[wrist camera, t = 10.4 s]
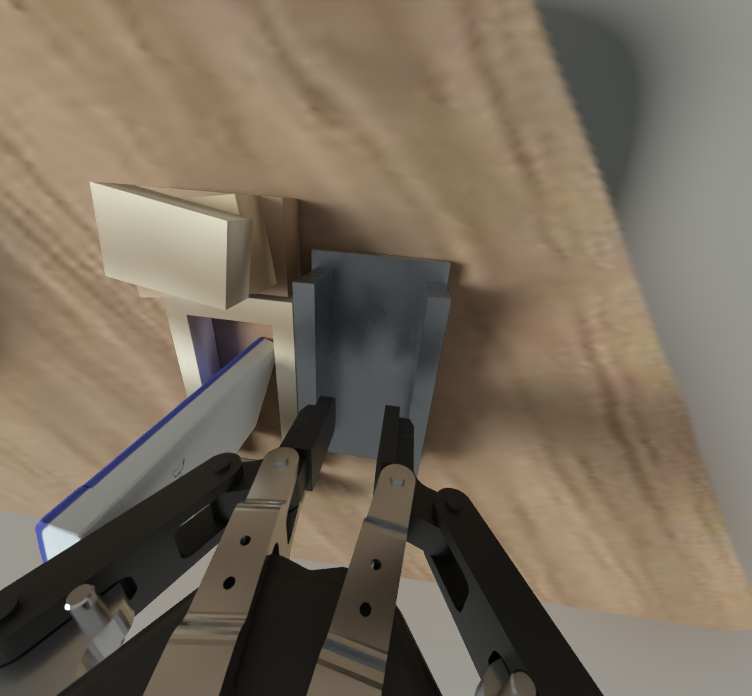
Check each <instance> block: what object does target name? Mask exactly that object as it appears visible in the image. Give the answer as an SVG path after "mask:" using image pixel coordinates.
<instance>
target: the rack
mask: <svg viewBox="0 0 752 696" xmlns="http://www.w3.org/2000/svg"><path fill="white" fill-rule="evenodd" d="M163 301H164V305H165V309H166V313H167V317H168V321H169V325H170V329H171V333H172V337H173V341H174V345H175V349H176V353H177V357H178V361H179V365H180V369H181V373H182V377H183V381H184V385H185V389H186V393H187V397H189V396H190V395H191V394H193V393H194V392H195V391H196V390H197V389H199V388H200V387H201V386H202V385H203V384H204V383H205V382H207V381H208V380H209V379H210V378H212V377H213V376H214V375H215V374H216V373H218V372H219V371H220V370H221V369H220V363H219V357H218V352H217V346H216V341H215V335H214V330H213V324H212V319H211V318H217V319H226V320H234V321H242V322H251V323H259V324H267V325H272V330H273V342H274V354H275V366H276V378H277V389H278V401H279V413H280V425H281V437H282V441H283V440H284V438H285V436H286V434H287V433H288V431H289V429H290V427H291V426H292V425H293V422H294V420H295V419H296V417H297V415H298V413H299V410H298V389H297V369H296V348H295V327H294V307H293V294H292V295H290V296H289V297H284V296H275V295H266V294H249V297H248V299H246V300H244V301H242V302H240V303H238V304H236V305H235V306H233V307H231V308H229V309H227V310H222V309H219V308H215V307H212V306H208V305H205V304H202V303H198V302H195V301H191V300H188V299H184V298H181V297H177V296H174V297H163ZM241 461H242V462H247V461H256V460H251V459H244V458H241ZM306 492H307V490H305V492H304V495H303V497H302V500H301V505H302V502H303V500H304V497H305V494H306ZM208 505H209V504H208ZM208 505H207V506H208ZM207 506H206V507H207ZM204 508H205V507H204ZM204 508H203V509H204ZM203 509H202V510H203ZM200 511H201V510H200ZM200 511H199V512H200ZM199 512H198V513H199ZM196 514H197V513H196ZM196 514H195V515H196ZM195 515H194V516H195ZM192 517H193V516H192ZM192 517H191V518H192ZM191 518H190V519H191ZM188 520H189V519H188ZM188 520H187V521H188ZM187 521H186V522H187Z"/></svg>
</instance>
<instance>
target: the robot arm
mask: <svg viewBox="0 0 752 696" xmlns="http://www.w3.org/2000/svg"><path fill="white" fill-rule="evenodd" d="M399 416H400V407H399V406H392V405H385V412H384V418H383V425H382V431H381V437H380V444H379V450H378V457H377V464H376V473H375V483H374V492H373V499H372V502H371V506H370V509H369V512H368V515H367V518H365V519H364V521H363V524H362V527H361V530H360V533H359V536H358V540H357V543H356V546H355V549H354V552H353V556H352V559H351V562H350V565H349V568H345V567H338V568H329V569H319V570H308V569H306V568H304V567H302V566H300V565H299V564H297V563H295V562H293V561H291V560H289V558H290V551H291V546H292V542H293V538H294V534H295V530H296V525H297V521H298V517H299V513H300V509H301V500H302V497H303V495H304V492H305V490H307V491H313V489H314V486H315V483H316V480H317V478H318V475H319V472H320V469H321V467H322V464H323V461H324V458H325V456H326V453H327V450H328V448H329V445H330V442H331V439H332V437H333V434H334V429H335V421H336V398H335V397H327V396H320V397H319V399H318V401H317V403H316V405H310V404H308V405H307V406H305V407H304V408H303V409H301V410H300V412H299V413H298V415H297V417H296V419H295V420H294V422H293V425H292V426H291V427H290V429H289V431H288V433H287V434H286V436H285V438H284V440H283V441H282V443H281V445H280V447H279V448H276V449H274V450H272V451H270V452H269V453H268V454H267V455H266V456H265V457H264V459H261V460H256V461H247V462H242V461H241V458H240V457H239V456H238V455H237V454H235V453H230V452H227V453H221V454H218V455H215V456H213V457H212V458H210V459H208V460H207V461H205V462H204V463H202V464H200V465H199V466H197V467H196V468H194V469H192V470H191V471H189V472H188V473H186V474H185V475H183V476H181V477H180V478H178V479H177V480H175V481H173V482H172V483H170V484H169V485H167V486H166V487H164V488H162V489H161V490H159V491H158V492H156V493H154V494H153V495H151V496H150V497H148V498H146V499H145V500H143V501H142V502H140V503H139V504H137V505H135V506H134V507H132V508H131V509H129V510H127V511H126V512H124V513H123V514H121V515H120V516H118V517H116V518H115V519H113V520H112V521H110V522H108V523H107V524H105V525H104V526H102V527H100V528H99V529H97V530H96V531H94V532H93V533H91V534H89V535H88V536H86V537H85V538H83V539H81V540H80V541H78V542H77V543H75V544H74V545H72V546H70V547H69V548H67V549H66V550H64V551H62V552H61V553H59V554H58V555H56V556H54V557H53V558H51V559H50V560H48V561H47V562H45V563H43V564H42V565H40V566H39V567H37V568H35V569H34V570H32V571H31V572H29V573H28V574H26V575H24V576H23V577H21V578H20V579H18V580H16V581H15V582H13V583H12V584H10V585H9V586H7V587H5V588H4V589H2V590H1V591H0V696H442V694H441V692H440V690H439V688H438V686H437V684H436V682H435V680H434V678H433V676H432V674H431V672H430V670H429V668H428V666H427V664H426V662H425V659H424V657H423V655H422V653H421V651H420V649H419V647H418V646H417V644H416V641H415V639H414V637H413V635H412V633H411V631H410V629H409V627H408V625H407V623H406V621H405V619H404V617H403V615H402V613H401V611H400V610H399V608H398V607H397V605H396V600H397V594H398V588H399V582H400V576H401V570H402V564H403V558H404V551H405V545H406V541H407V542H409V543H411V544H413V545H414V546H416V547H418V548H420V549H422V550H423V551H424V554H425V557H426V559H427V561H428V564H429V566H430V568H431V570H432V572H433V575H434V577H435V579H436V581H437V583H438V586H439V588H440V590H441V592H442V594H443V597H444V599H445V601H446V603H447V606H448V608H449V610H450V612H451V614H452V617H453V619H454V621H455V623H456V625H457V627H458V630H459V632H460V634H461V636H462V639H463V641H464V643H465V645H466V648H467V650H468V652H469V654H470V656H471V659H472V661H473V663H474V665H475V667H476V670H477V672H478V674H479V676H480V679H481V681H480V682H479V684H478V686H477V688H476V691H475V696H603V694H602V693H601V691H600V690H599V688H598V687H597V685H596V684H595V682H594V681H593V679H592V678H591V676H590V675H589V673H588V672H587V671H586V669H585V668H584V666H583V665H582V663H581V662H580V660H579V659H578V657H577V656H576V654H575V653H574V652H573V650H572V649H571V647H570V646H569V644H568V643H567V641H566V640H565V638H564V637H563V635H562V634H561V632H560V631H559V629H558V628H557V627H556V625H555V624H554V622H553V621H552V619H551V618H550V616H549V615H548V613H547V612H546V610H545V609H544V608H543V606H542V605H541V603H540V602H539V600H538V599H537V597H536V596H535V594H534V593H533V591H532V590H531V588H530V587H529V586H528V584H527V583H526V581H525V580H524V578H523V577H522V575H521V574H520V572H519V571H518V569H517V568H516V566H515V565H514V564H513V562H512V561H511V559H510V558H509V556H508V555H507V553H506V552H505V550H504V549H503V547H502V546H501V545H500V543H499V542H498V540H497V539H496V537H495V536H494V534H493V533H492V531H491V530H490V528H489V527H488V525H487V524H486V523H485V521H484V520H483V518H482V517H481V515H480V514H479V512H478V511H477V509H476V508H475V506H474V505H473V503H472V502H471V501H470V499H469V498H468V497H467V496H466V495H465V494H464V493H463V492H461V491H459V490H457V489H453V488H444V489H441V490H440V491H438V492H436V491H434V490H432V489H430V488H428V487H426V486H424V485H423V484H422V483H421V482H420V481H419V480H418V479H417V477H416V476H415V473H414V425H413V424H412V422H411V420H410V419H408V418H401V417H399ZM208 504H209V505H208ZM207 505H208V506H207ZM206 506H207V507H206ZM204 507H205V508H204ZM203 508H204V509H203ZM202 509H203V510H202ZM200 510H201V511H200ZM199 511H200V512H199ZM198 512H199V513H198ZM196 513H197V514H196ZM195 514H196V515H195ZM194 515H195V516H194ZM192 516H193V517H192ZM191 517H192V518H191ZM190 518H191V519H190ZM188 519H189V520H188ZM187 520H188V521H187ZM186 521H187V522H186ZM184 522H185V523H184ZM183 523H184V524H183ZM182 524H183V525H182ZM218 543H219V544H218ZM217 544H218V546H217V549H216V551H215V553H214V555H213V557H212V559H211V562H210V564H209V566H208V568H207V570H206V573H205V575H204V577H203V579H202V581H201V584H200V586H199V587H198V588H197V589H196V590H194V591H193V592H192V593H190V594H189V595H188V596H187V597H185V598H184V599H183V600H181V601H180V602H179V603H177V604H176V605H175V606H173V607H172V608H171V609H169V610H168V611H167V612H165V613H164V614H163V615H161V616H160V617H159V618H158V619H156V620H155V621H154V622H152V623H151V624H150V625H148V626H147V627H146V628H144V629H143V630H142V631H140V632H139V633H138V634H136V635H135V636H134V637H132V638H131V639H130V640H129V641H127V642H126V643H125V644H123V642H124V640H125V636H126V635H127V633H128V632H129V630H130V628H131V626H132V623H133V620H134V617H135V616H136V615H137V614H138V613H139V612H140V611H142V610H143V609H144V608H145V607H146V606H147V605H148V604H150V603H151V602H152V601H153V600H154V599H155V598H156V597H157V596H159V595H160V594H161V593H162V592H163V591H164V590H166V589H167V588H168V587H169V586H170V585H171V584H172V583H173V582H175V581H176V580H177V579H178V578H179V577H180V576H181V575H183V574H184V573H185V572H186V571H187V570H188V569H190V568H191V567H192V566H193V565H194V564H195V563H196V562H198V561H199V560H200V559H201V558H202V557H203V556H204V555H205V554H207V553H208V552H209V551H210V550H211V549H212V548H213V547H215V546H216V545H217ZM122 644H123V645H122ZM121 645H122V646H121Z"/></svg>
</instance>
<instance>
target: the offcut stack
mask: <svg viewBox="0 0 752 696" xmlns="http://www.w3.org/2000/svg"><path fill="white" fill-rule="evenodd" d="M90 186H91V192H92V198H93V204H94V210H95V216H96V222H97V228H98V234H99V240H100V246H101V252H102V258H103V264H104V270H105V276H108V277H111V278H115V279H118V280H121V281H125V282H128V283H132V284H135V285H136V287H137V289H138V292H139V294H140V297H141V298H142V297H174V296H177V297H181V298H184V299H188V300H191V301H195V302H198V303H202V304H205V305H208V306H212V307H215V308H219V309H222V310H227V309H229V308H231V307H233V306H235V305H236V304H238V303H240V302H242V301H244V300H246V299H248V297H249V294H266V295H275V296H284V297H289V296H290V295H292V294H293V286H292V282H293V281H295V280H296V279H298V278H300V277H301V260H300V231H299V203H298V199H291V198H280V197H268V196H256V195H245V194H233V193H221V192H210V191H198V190H187V189H175V188H163V187H151V186H136V185H127V184H115V183H102V182H90Z"/></svg>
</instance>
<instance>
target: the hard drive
mask: <svg viewBox="0 0 752 696" xmlns="http://www.w3.org/2000/svg"><path fill="white" fill-rule="evenodd" d="M274 364H275V354H274V342H272V341H270V340H268V339H265V338H262V337H260V338H258V339H257V340H256V341H255V342H254V343H252V344H251V345H250V346H249V347H248V348H246V349H245V350H244V351H243V352H242V353H240V354H239V355H238V356H237V357H236V358H234V359H233V360H232V361H231V362H230V363H228V364H227V365H226V366H225V367H224V368H222V369H221V370H220V371H219V372H218V373H216V374H215V375H214V376H213V377H212V378H210V379H209V380H208V381H207V382H205V383H204V384H203V385H202V386H201V387H200V388H199V389H197V390H196V391H195V392H194V393H193V394H191V395H190V396H189V397H188V398H187V399H185V400H184V401H183V402H182V403H181V404H179V405H178V406H177V407H176V408H175V409H174V410H173V411H171V412H170V413H169V414H168V415H167V416H165V417H164V418H163V419H162V420H161V421H159V422H158V423H157V424H156V425H155V426H153V427H152V428H151V429H150V430H149V431H147V432H146V433H145V434H144V435H143V436H141V437H140V438H139V439H138V440H137V441H135V442H134V443H133V444H132V445H131V446H129V447H128V448H127V449H126V450H125V451H123V452H122V453H121V454H120V455H119V456H118V457H116V458H115V459H114V460H113V461H112V462H110V463H109V464H108V465H107V466H106V467H104V468H103V469H102V470H101V471H100V472H98V473H97V474H96V475H95V476H94V477H92V478H91V479H90V480H89V481H88V482H87V483H85V484H84V485H82V486H81V487H79V488H78V489H76V490H75V491H74V492H73V493H72V494H70V495H69V496H68V497H67V498H66V499H64V500H63V501H62V502H61V503H60V504H58V505H57V506H56V507H55V508H54V509H52V510H51V511H50V512H49V513H48V514H46V515H45V516H44V517H43V518H42V519H41V520H40V521H39V522H38V523H37V525H36V527H35V531H36V534H37V539H38V543H39V549H40V553H41V556H42V560H43V563H45V562H47V561H48V560H50V559H51V558H53V557H54V556H56V555H58V554H59V553H61V552H62V551H64V550H66V549H67V548H69V547H70V546H72V545H74V544H75V543H77V542H78V541H80V540H81V539H83V538H85V537H86V536H88V535H89V534H91V533H93V532H94V531H96V530H97V529H99V528H100V527H102V526H104V525H105V524H107V523H108V522H110V521H112V520H113V519H115V518H116V517H118V516H120V515H121V514H123V513H124V512H126V511H127V510H129V509H131V508H132V507H134V506H135V505H137V504H139V503H140V502H142V501H143V500H145V499H146V498H148V497H150V496H151V495H153V494H154V493H156V492H158V491H159V490H161V489H162V488H164V487H166V486H167V485H169V484H170V483H172V482H173V481H175V480H177V479H178V478H180V477H181V476H183V475H185V474H186V473H188V472H189V471H191V470H192V469H194V468H196V467H197V466H199V465H200V464H202V463H204V462H205V461H207V460H208V459H210V458H212V457H213V456H215V455H218V454H221V453H227V452H230V453H235V454H236V453H237V451H238V450H239V449H240V447H241V446H242V445H243V443H244V442H245V441H246V439H247V438H248V436H249V435H250V434H251V432H252V431H253V430H254V428H255V427H256V424H257V421H258V418H259V414H260V411H261V407H262V404H263V400H264V397H265V394H266V391H267V387H268V384H269V381H270V377H271V374H272V370H273V367H274ZM184 523H185V522H184ZM184 523H183V524H184ZM183 524H182V525H183Z"/></svg>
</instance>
